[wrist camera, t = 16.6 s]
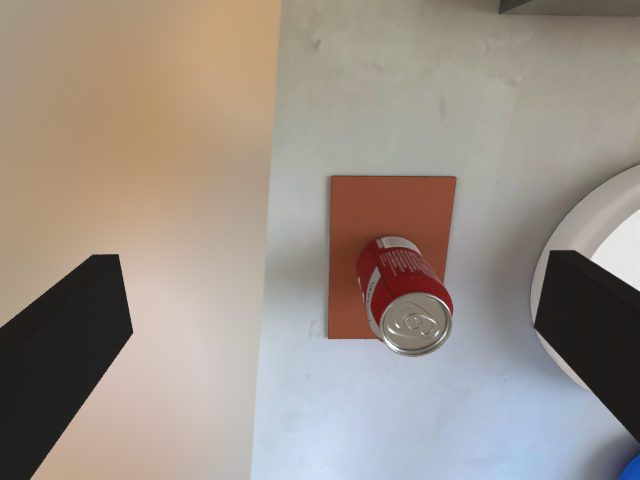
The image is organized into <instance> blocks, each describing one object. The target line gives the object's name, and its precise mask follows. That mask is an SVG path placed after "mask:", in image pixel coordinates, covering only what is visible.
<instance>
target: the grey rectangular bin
mask: <svg viewBox="0 0 640 480" xmlns="http://www.w3.org/2000/svg"><path fill="white" fill-rule="evenodd" d="M499 14H517V15H574V16H631V17H640V0H501V1H500V8H499Z"/></svg>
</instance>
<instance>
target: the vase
mask: <svg viewBox="0 0 640 480" xmlns="http://www.w3.org/2000/svg"><path fill="white" fill-rule="evenodd" d="M618 480H640V454H639V455H638V456H637V457H635V458H634V459H633V460H632V461H631V462H630V463H629V464H628V466H627V467H626V468H625V469H624V470H623V472H622V474H621V476H620V478H619V479H618Z"/></svg>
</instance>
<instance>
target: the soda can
mask: <svg viewBox="0 0 640 480" xmlns="http://www.w3.org/2000/svg"><path fill="white" fill-rule="evenodd" d="M356 272H357V277H358V281H359V285H360V289H361V293H362V297H363V300H364V304H365V308H366V312H367V316H368V320H369V324H370V327H371V329H372V331H373V333H374V334H375V336H376V337H377V338H378V339H379V340H380V341H381V342H382V343H384V344H385V345H387V347H388V348H390V349H391V350H392V351H394V352H395V353H397V354H400V355H403V356H408V357H417V356H423V355H426V354H429V353H431V352H433V351H435V350H437V349H438V348H439V347H440V346H442V345H443V344H444V342H445V341H446V340H447V338H448V337H449V335H450V332H451V329H452V315H453V305H452V300H451V297H450V295H449V293H448V292H447V290H446V289H445V287H444V286H443V284H442V283H441V281H440V280H439V278H438V277H437V276H436V274H435V273H434V271H433V270H432V268H431V267H430V265H429V264H428V262H427V261H426V260H425V258H424V257H423V255H422V254H421V252H420V251H419V249H418V248H417V247H416V246H415V244H413V243H412V242H411V241H410V240H408V239H406V238H403V237H400V236H394V235H390V236H383V237H380V238H377V239H375V240H373V241H371V242H370V243H369V244H367V245H366V246H365V247H364V249H363V250H362V251H361V253H360V255H359V257H358V260H357V264H356Z"/></svg>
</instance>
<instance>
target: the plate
mask: <svg viewBox="0 0 640 480" xmlns="http://www.w3.org/2000/svg"><path fill="white" fill-rule="evenodd" d="M550 250H575V251H577V252H579V253H580V254H582V255H583V256H585V257H586V258H588V259H590V260H591V261H593V262H594V263H596V264H598V265H599V266H601V267H602V268H604V269H605V270H607V271H609V272H610V273H612V274H613V275H615V276H616V277H618V278H620V279H621V280H623V281H624V282H626V283H628V284H629V285H631V286H632V287H634V288H635V289H637V290H639V291H640V165H637V166H634V167H632V168H630V169H628V170H626V171H624V172H622V173H620V174H618V175H616V176H614V177H613V178H611V179H609V180H608V181H606V182H604V183H603V184H601V185H600V186H599V187H597V188H596V189H595V190H593V191H592V192H591V193H589V194H588V195H587V196H586V197H585V198H584V199H582V200H581V201H580V202H579V203H578V204H577V205H576V206H575V207H574V208H573V209H572V210H571V211H570V212H569V213H568V214H567V215H566V217H565V218H564V219H563V220H562V221H561V223H560V224H559V225H558V227H557V228H556V230H555V231H554V232H553V234H552V235H551V237H550V239H549V240H548V242H547V244H546V246H545V247H544V249H543V252H542V254H541V256H540V258H539V261H538V263H537V266H536V270H535V273H534V277H533V281H532V287H531V297H530V301H531V315H532V321H533V324H534V323H535V318H536V313H537V309H538V304H539V299H540V295H541V290H542V285H543V281H544V276H545V271H546V266H547V262H548V257H549V252H550ZM535 331H536V329H535ZM536 333H537V335H538V338H539V340H540V342H541V343H542V345H543V347H544V348H545V350H546V351H547V352H548V354H549V355H550V356H551V357H552V359H553V360H554V361H555V362H556V363H557V364H558V365H559V366H560V367H561V368H562V370H563V371H564V372H565V373H566V374H567V375H568V376H569V377H570V378H571V379H572V380H574V381H575V382H576V383H578V384H579V385H580V386H582V387H583V388H585V389H587V390H588V391H590V392H592V391H591V390H590V389H589V387H588V386H587V385H586V384H585V383H584V382H583V381H582V380H581V379H580V378H579V376H578V375H577V374H576V373H575V372H574V371H573V370H572V369H571V368H570V367H569V366H568V364H567V363H566V362H565V361H564V360H563V359H562V358H561V357H560V356H559V355H558V354H557V352H556V351H555V350H554V349H553V348H552V347H551V346H550V345H549V344H548V343H547V341H546V340H545V339H544V338H543V337H542V336H541V335H540V334H539V333H538V332H537V331H536ZM592 393H593V392H592Z"/></svg>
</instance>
